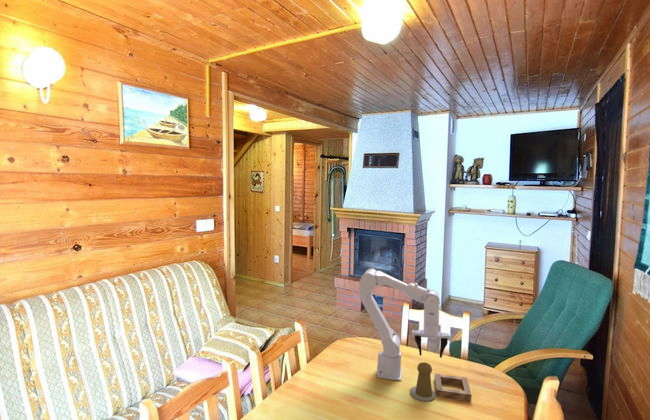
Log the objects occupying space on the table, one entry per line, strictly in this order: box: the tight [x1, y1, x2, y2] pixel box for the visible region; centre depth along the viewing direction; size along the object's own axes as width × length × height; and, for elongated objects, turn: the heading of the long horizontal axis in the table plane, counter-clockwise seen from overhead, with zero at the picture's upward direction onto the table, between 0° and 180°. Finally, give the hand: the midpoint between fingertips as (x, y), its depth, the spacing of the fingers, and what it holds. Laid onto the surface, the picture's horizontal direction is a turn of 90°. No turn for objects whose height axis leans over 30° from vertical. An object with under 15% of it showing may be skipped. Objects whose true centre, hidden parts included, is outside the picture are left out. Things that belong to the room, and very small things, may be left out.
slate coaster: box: [409, 385, 436, 403], centre depth 135 cm, size 9×9×1 cm
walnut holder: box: [434, 373, 472, 402], centre depth 138 cm, size 12×12×2 cm
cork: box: [415, 361, 433, 397], centre depth 134 cm, size 6×6×11 cm
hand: (430, 355), depth 143 cm, fingers open, 7 cm apart
